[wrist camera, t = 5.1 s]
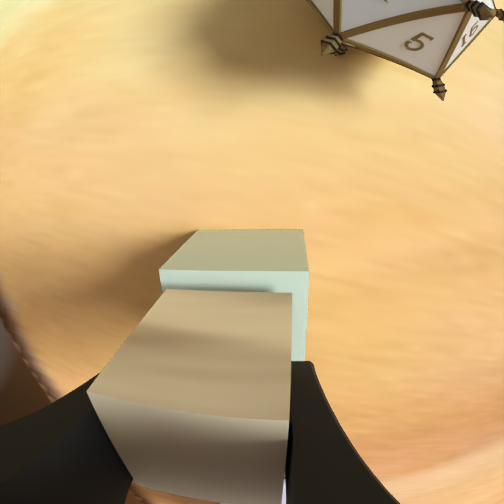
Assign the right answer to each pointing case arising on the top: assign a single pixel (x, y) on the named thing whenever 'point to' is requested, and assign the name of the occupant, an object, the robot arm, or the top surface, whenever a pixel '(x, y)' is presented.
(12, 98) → the top surface
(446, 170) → the top surface
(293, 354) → the base block
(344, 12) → the game die
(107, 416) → the birch block
